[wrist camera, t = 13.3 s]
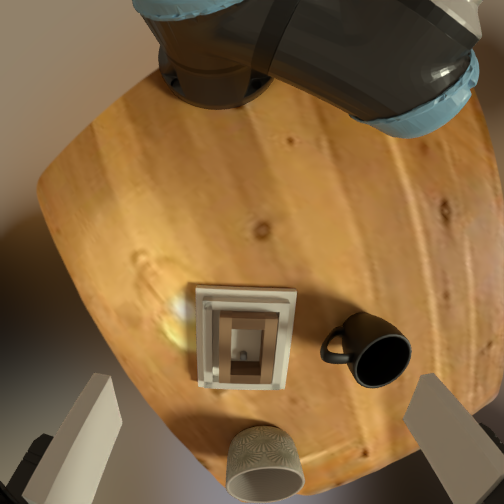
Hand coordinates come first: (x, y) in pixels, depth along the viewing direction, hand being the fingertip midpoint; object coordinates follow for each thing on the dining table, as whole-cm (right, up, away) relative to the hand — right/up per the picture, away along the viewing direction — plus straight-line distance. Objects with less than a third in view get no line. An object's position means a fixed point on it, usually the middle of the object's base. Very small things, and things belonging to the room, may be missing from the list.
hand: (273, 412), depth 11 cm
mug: (+13, -5, +31) cm, 34 cm away
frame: (-2, -6, +30) cm, 30 cm away
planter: (+1, -27, +36) cm, 46 cm away
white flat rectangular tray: (-2, -6, +31) cm, 32 cm away
